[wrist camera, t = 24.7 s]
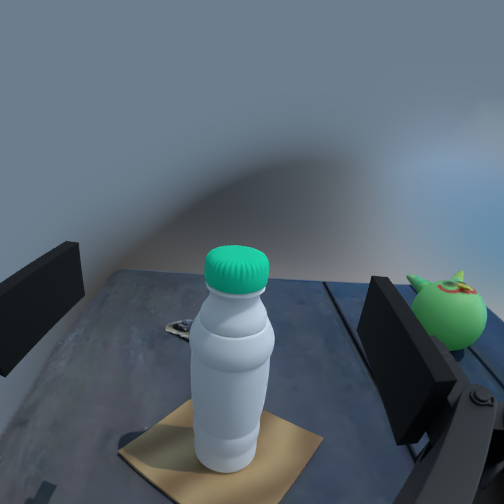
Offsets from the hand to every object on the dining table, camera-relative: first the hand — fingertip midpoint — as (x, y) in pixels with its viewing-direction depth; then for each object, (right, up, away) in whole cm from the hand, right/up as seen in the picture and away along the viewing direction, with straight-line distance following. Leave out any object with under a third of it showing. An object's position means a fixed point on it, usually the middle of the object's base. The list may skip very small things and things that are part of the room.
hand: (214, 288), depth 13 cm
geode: (-11, -13, +43) cm, 46 cm away
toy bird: (+41, -18, +44) cm, 63 cm away
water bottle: (-2, -22, +19) cm, 29 cm away
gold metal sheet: (-2, -23, +19) cm, 30 cm away
